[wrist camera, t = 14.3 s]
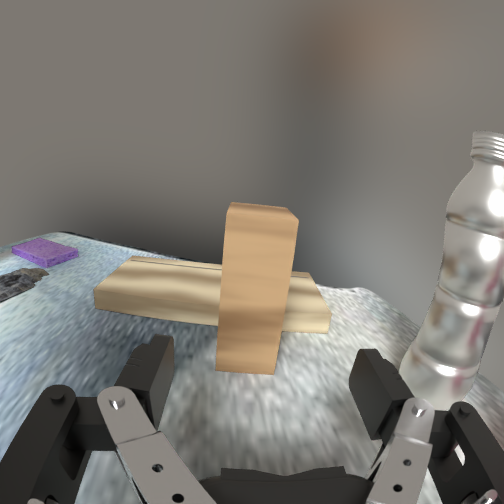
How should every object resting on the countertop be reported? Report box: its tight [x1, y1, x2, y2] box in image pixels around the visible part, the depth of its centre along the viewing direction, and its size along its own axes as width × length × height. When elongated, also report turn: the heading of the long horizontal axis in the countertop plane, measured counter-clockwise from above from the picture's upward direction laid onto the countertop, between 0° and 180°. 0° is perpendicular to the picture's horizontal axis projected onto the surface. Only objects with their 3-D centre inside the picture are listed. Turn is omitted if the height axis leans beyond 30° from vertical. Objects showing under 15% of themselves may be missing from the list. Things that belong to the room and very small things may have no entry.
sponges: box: [12, 238, 78, 268], centre depth 40 cm, size 7×13×2 cm, turn 73°
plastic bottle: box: [399, 131, 504, 411], centre depth 16 cm, size 6×7×20 cm
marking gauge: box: [216, 202, 299, 375], centre depth 29 cm, size 18×4×12 cm, turn 1°
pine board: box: [93, 256, 332, 333], centre depth 34 cm, size 12×24×2 cm, turn 91°
